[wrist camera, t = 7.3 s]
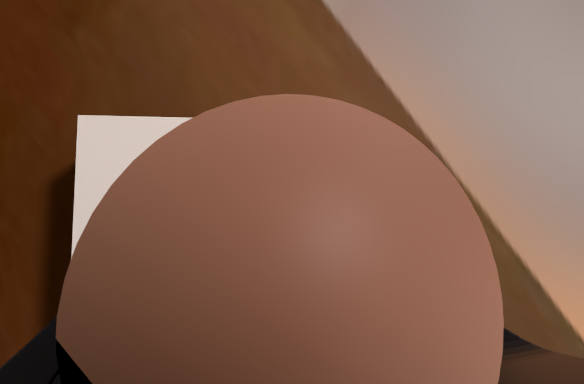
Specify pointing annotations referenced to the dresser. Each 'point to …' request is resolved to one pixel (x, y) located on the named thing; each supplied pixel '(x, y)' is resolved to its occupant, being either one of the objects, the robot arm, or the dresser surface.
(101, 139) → the hole block
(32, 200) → the dresser surface
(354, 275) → the peg
